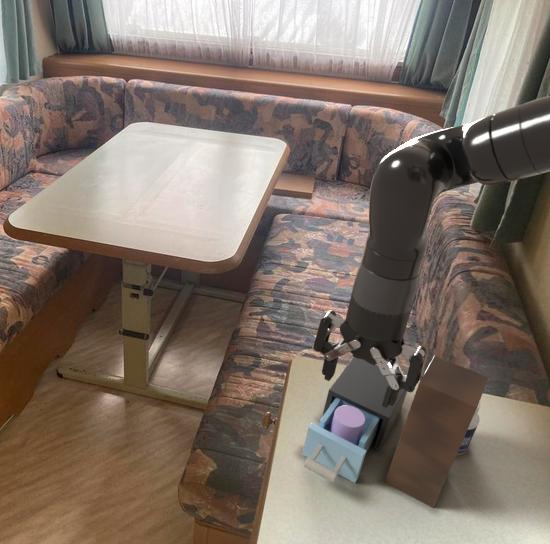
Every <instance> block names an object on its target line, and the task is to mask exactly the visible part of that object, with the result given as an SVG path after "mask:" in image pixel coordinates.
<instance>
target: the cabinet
mask: <svg viewBox="0 0 550 544" xmlns="http://www.w3.org/2000/svg"><path fill="white" fill-rule="evenodd" d="M388 385H389V383H388V381H387V379H386V377H385V376H383V375H382V373H381V371H380V369H379V367H378V365H377V364H375V366H374V365H372V364H370V363H368V362H366V361H365V360H363V359H358V358H356V357H353V356H352V358H351V359H350V361H349V362H348V364H346V366H345V367H344V369H343V370H342V371H341V373H340V374H339V375H338V377H337V378H336V379H335V381H334V382H333V383H332V385H331V386H330V387H329V389H328V392H327V395H326V399H325V403H324V407H323V413H322V417H323V416H324V414H325V413H326V411H327V410H328V409H329V407H330V406H331V404H332V403H333V401H334V400H335V399H336V397H337V398H339V399H341V400H343V401H345V402H347V403H349V404H351V405H353V406H356V407H358V408H360V409H362V410H364V411H366V412H368V413H370V414H372V415H375V416H377V417H379V418H381V419H380V420H382V421H381V424H380V428H379V431H378V433H377V436H376V440H375V443H374V446H373V448H374V449H376V450H380V449H381V447H382V445H383V444H384V442H385V440H386V438H387V436H388V434H389V433H390V431H391V429H392V427H393V426H394V424H395V422H396V420H397V418H398V417H399V414H400V413H401V412H402V408H403V405H404V403H405V399H406V396H407V394H408V392H407V391H406V390H405V389H400V392H399V395H398V398H397V400H396V402H395V403H394V405H393V406H390V405H388V407H387V408H386V407H383V406H382V403H383V400H384V397H385V393H386V390H387V387H388ZM322 417H321V418H322Z"/></svg>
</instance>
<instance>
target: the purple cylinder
mask: <svg viewBox="0 0 550 544" xmlns="http://www.w3.org/2000/svg"><path fill="white" fill-rule="evenodd" d="M364 423H365V416H364V414H363V413H362V412H361V411H360V410H359V409H357V408H355V407H352V406H347V405H344V406H340V407H338V408H337V409H336V410H335V413H334V417H333V421H332V425H331V429H330V432H331V433H333V434H335V435H337V436H339V437H341V438H343V439H345V440H347V441H349V442H351V443H353V444H355V445H357V446H358V443H359V440H360V437H361V433H362V430H363V427H364Z"/></svg>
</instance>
